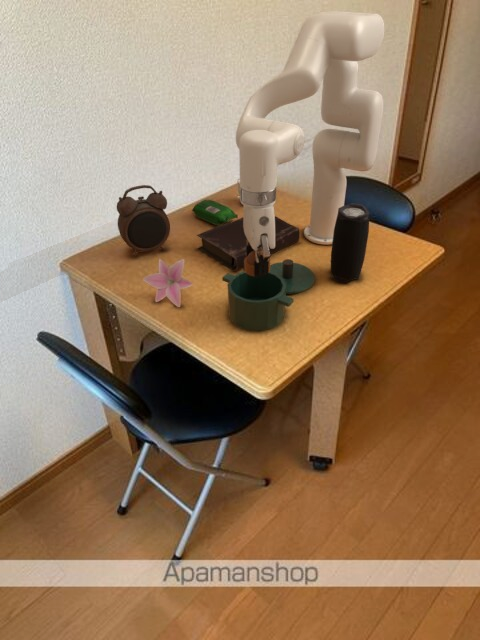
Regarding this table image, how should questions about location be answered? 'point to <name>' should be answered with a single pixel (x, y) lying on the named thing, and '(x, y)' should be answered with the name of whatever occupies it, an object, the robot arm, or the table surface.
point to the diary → (242, 241)
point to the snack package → (214, 212)
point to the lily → (169, 281)
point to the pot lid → (294, 276)
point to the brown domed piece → (251, 263)
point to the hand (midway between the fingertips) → (257, 267)
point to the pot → (256, 300)
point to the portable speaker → (349, 242)
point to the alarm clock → (143, 221)
